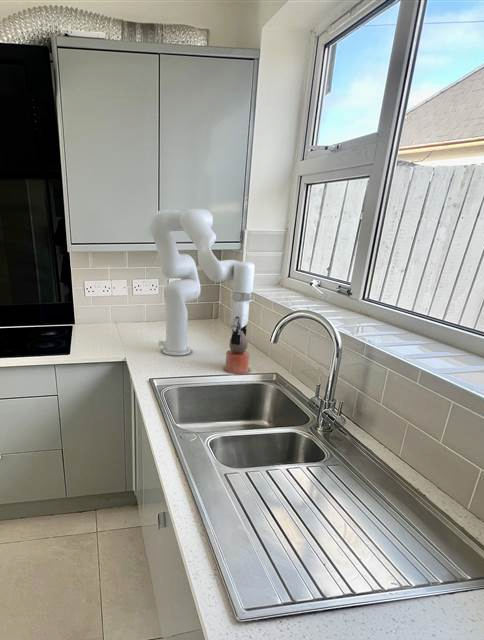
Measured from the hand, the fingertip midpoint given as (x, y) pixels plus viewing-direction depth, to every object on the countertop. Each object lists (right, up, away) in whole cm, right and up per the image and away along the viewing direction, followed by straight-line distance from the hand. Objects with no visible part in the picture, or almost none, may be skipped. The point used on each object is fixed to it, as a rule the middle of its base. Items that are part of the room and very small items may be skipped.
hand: (238, 340), depth 158 cm
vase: (0, -4, +2) cm, 5 cm away
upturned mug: (+1, -11, +6) cm, 12 cm away
